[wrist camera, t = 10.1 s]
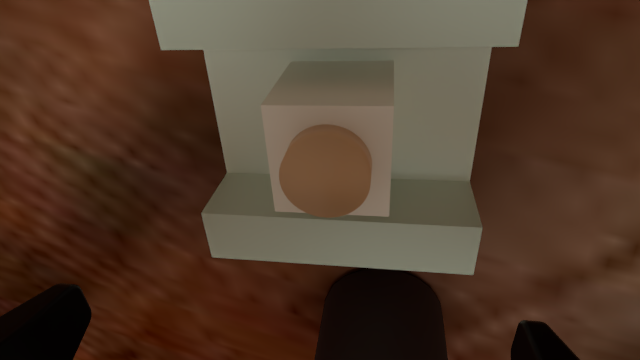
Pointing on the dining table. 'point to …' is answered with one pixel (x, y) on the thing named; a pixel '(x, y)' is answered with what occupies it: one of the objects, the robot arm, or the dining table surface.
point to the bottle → (381, 319)
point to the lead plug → (331, 137)
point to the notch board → (408, 121)
